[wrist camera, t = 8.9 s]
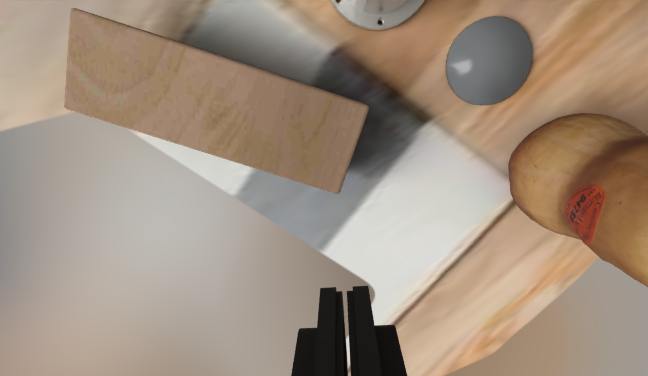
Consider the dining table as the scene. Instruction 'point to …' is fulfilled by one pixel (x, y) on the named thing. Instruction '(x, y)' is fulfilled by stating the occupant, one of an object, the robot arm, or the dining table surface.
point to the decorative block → (210, 102)
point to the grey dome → (489, 61)
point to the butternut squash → (588, 186)
